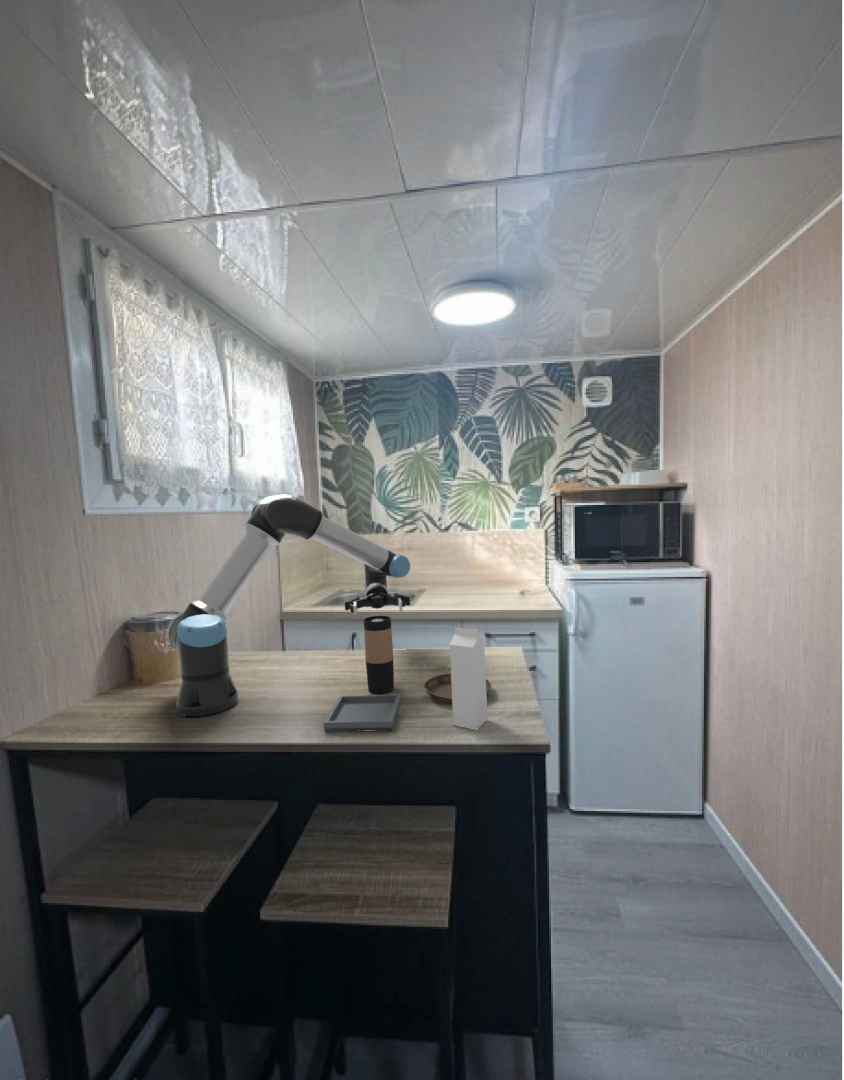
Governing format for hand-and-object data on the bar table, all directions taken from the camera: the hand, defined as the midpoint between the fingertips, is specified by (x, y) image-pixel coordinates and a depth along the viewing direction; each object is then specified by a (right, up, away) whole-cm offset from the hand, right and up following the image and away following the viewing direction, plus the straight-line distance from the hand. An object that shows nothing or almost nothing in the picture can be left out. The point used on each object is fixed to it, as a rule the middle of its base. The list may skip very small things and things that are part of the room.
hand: (377, 608), depth 143 cm
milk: (+24, -22, -31) cm, 45 cm away
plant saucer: (+23, -21, -14) cm, 34 cm away
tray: (-1, -23, -25) cm, 34 cm away
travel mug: (+2, -21, -8) cm, 23 cm away
